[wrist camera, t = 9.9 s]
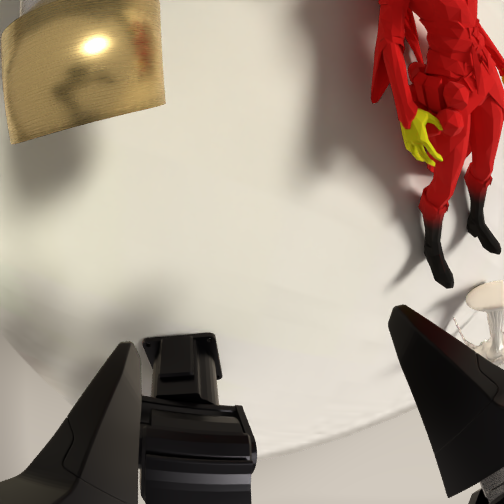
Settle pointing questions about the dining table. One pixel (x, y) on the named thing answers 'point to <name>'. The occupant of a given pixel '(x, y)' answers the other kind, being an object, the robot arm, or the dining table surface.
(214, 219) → the dining table surface
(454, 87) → the figurine
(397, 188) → the dining table surface
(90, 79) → the gold cylindrical piece
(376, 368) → the dining table surface
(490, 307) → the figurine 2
